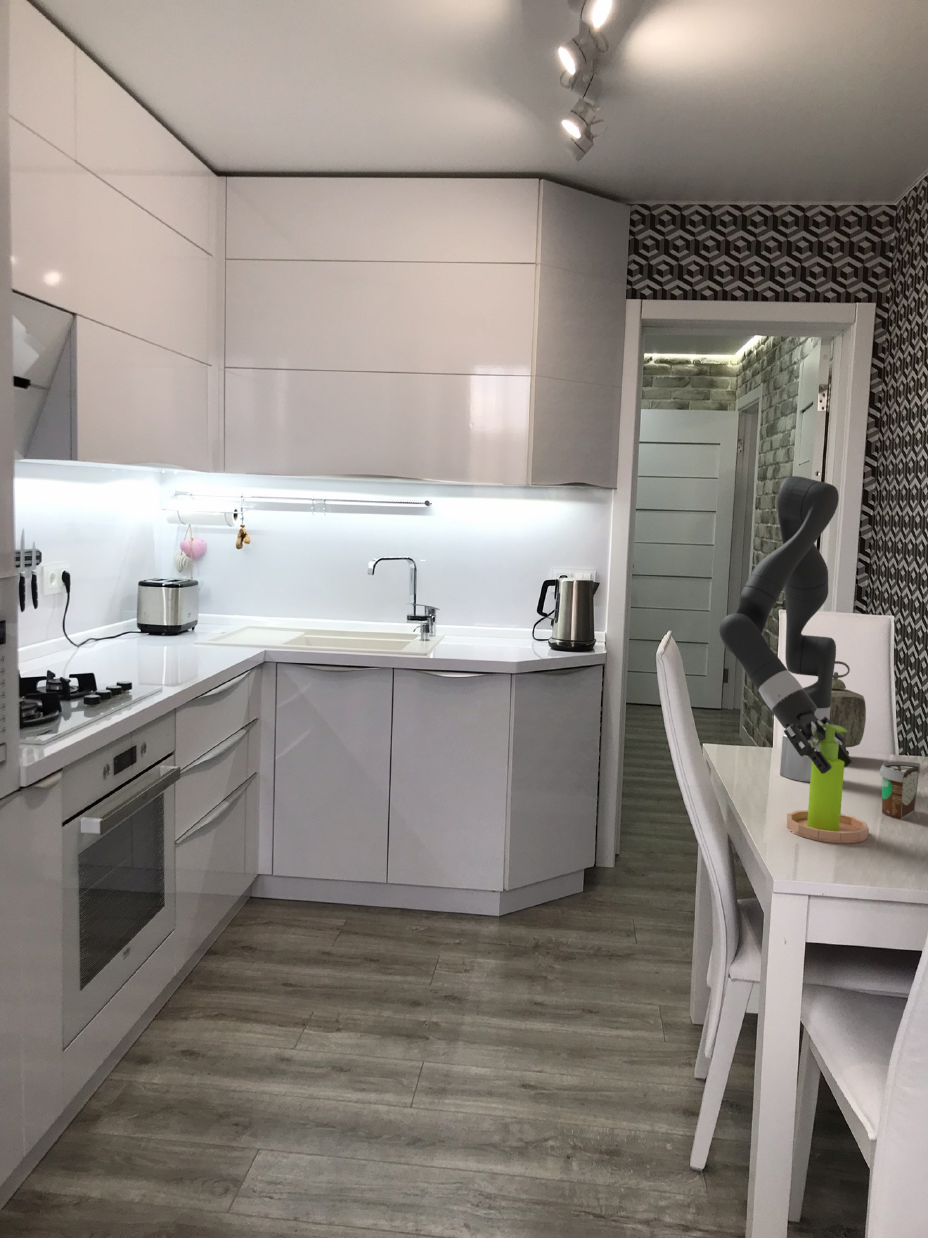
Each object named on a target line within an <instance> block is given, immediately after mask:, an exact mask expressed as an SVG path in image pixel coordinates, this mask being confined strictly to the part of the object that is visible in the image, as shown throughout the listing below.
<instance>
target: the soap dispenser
mask: <svg viewBox="0 0 928 1238" xmlns="http://www.w3.org/2000/svg"><path fill="white" fill-rule="evenodd" d="M822 727H824V728H826V733H825V739H824V740H822V741H820V751H821V753H822V754H823V755H824V757H825V758H826V760H827V761H828V762H829V764H830V765H831V769H830V770H829V771H828V772H826V773H824V774H822V773H821V772H820V771H819V769H818V768H817V767H816V765H815V764H814V763H813V761H812V765H811V779H810V782H809V796H808V806H807V807H808V808H807V810H808V819H807V826H808V827H812V828H816V829H819V830H828V831H838V830H839V827H840V814H842V813H841V811H842V798H843V786H844V784H843V783H844V773H845V768H844V761H842V760H840V759H838V748H839V743H838V742H836V741H835V740H834V739H835V731H836V732H837V733H847V730H846V729H844V728H843V727H841V726H838V725H833V724H822Z"/></svg>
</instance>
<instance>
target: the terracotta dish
mask: <svg viewBox="0 0 928 1238" xmlns="http://www.w3.org/2000/svg"><path fill="white" fill-rule="evenodd" d="M807 819H808V809H806V810H795V811H792V812H789V813H787V814H786V829H787V828H788V829H789V830H791V831H792V832H794V833H795V834H794V833H793V834H794V835H796V834H798V835H797V836H799V837H801V836H802V838H805V837H806V839H809V840H812V841H818V842H823V843H831V844H857V843H861V842H864V841H866V840H867V838H868V836H869V831H870V828H869V825H868V823H867V822H866V821H863V820H861V819H859V818H857V817H855V816H851V815H846V814H843V813H841V814H840V827H839V830H838V831H828V830H819V829H816V828H812V827H808V826H807ZM788 829H787V830H788ZM789 830H788V831H789ZM791 831H790V832H791ZM792 832H791V833H792Z"/></svg>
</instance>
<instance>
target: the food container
mask: <svg viewBox="0 0 928 1238" xmlns="http://www.w3.org/2000/svg"><path fill="white" fill-rule="evenodd" d="M920 773H921V763H920V762H914V761H902V760H901V761H899V760H895V761H894V760H893V761H885V762H883V763H882V765H881V766H880V769H879V772H878V774H879V776H881V813H882V814H883V815H885V816H886V817H889V818H892V819H895V820H900V821H901V820H903V819H905V818H907V817H908V816H909V815H910V814H912V813H914V812H915V811H916V802H917V793H918V784H919V777H920Z"/></svg>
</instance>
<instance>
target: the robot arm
mask: <svg viewBox="0 0 928 1238" xmlns="http://www.w3.org/2000/svg"><path fill="white" fill-rule="evenodd" d="M839 497H840V496H839V491H838V489H837V488H836V486H835V485H833V484H831V483H828V482H825V481H820V480H815V479H811V478H807V477H804V476H797V475H796V476H795V475H793V476H792V475H791V476H789V477H787V478H785V479H784V481H782V483H781V485H780V487H779V490H778V493H777V502H776V505H777V507H776V508H777V517H778V524H779V529H780V530H779V531H780V536H781V542H782V543H781V544H782V545H780V546H779V547H777V548H776V549H775V550H773V551H772V552H771V553H769V554H767V555H766V556H765V557H763V558H762V559H761V560H760V561H759V562H758V563H757V564H756V565H755V567H754V569H753V570H752V571H751V573H750V575H749V577H748V578H747V581H746V583H745V585H744V586H743V587H742V588H743V589H742V591H741V593H740V595H739V602H738V606H737V608H736V610H735V612H733V613H730V614H728V615H726V616H725V617H724V618H723V619H722V620H721V622H720V625H719V629H718V631H719V637H720V638H721V641H722V643H723V646H725V648H726V649H727V651H729V652H730V653H731V654H733V655H734V656H735V658H736V659H737V661H738V662H739V663H740V664H741V665H742V667H743V670H744V672H745V674H746V675H747V677H748V678H749V680H750V681H751V683H752V684H753V686H754V687H755V688H756V690H757V691H758V692H759V694H760V695H761V698H762V699H763V701H764V703H765V704H766V705H767V706H768V708H769V710H770V711H771V712H772V714H773V715H774V716H775V718H776V719H777V720H778V722H779V723H780V725H781V726H782V728H784V730H783V733H784V734H783V735H782V737H781V738H782V740H781V754H780V756H781V757H780V767H779V775H780V776H783V777H785V778H787V779H790V780H795V781H800V782H806V783H807V782H809V783H810V779H811V765H812V761H813V763H814V764H815V765H816V767H817V768H818V769H819V771H820V772H821V773H822V774H824V773H826V772H828V771H829V770H830V769H831V765H830V764H829V762H828V761H827V760H826V758H825V757H824V755H823V754H822V753H821V751H820V741H822V740H824V739H825V733H826V728H824V727H822V724H832V723H831V722H830V721H829V720H830V706H831V692H832V681H833V675H834V672H835V671H834V670H835V665H836V664H835V661H836V657H837V645H836V641H835V640H834V638H832V637H829V636H817V635H806V634H802V632H803V631H804V628H805V626H806V625H807V624H808V623H809V621H810V620H811V619H812V618H813V616H815V614H816V613H817V612H819V610H820V609H821V608H822V607H823V605H824V604H825V602H826V601H827V598H828V596H829V570H828V565H827V563H826V561H825V559H824V557H823V555H822V554H821V551H820V550H819V549H818V547H817V546H816V544H815V543H816V541H817V540H818V539H819V538H820V537H821V535H822V533H823V532H824V531H825V529H826V528H827V526H828V525H829V524H830V522H831V520H832V518H834V515H835V513H836V511H837V509H838V506H839V499H840V498H839ZM783 589H784V590H783ZM783 591H784V602H785V614H786V615H785V617H786V625H785V627H786V629H785V632H786V633H785V654H784V655H785V658H784V659H785V664H784V663H783V662H782V660H781V659H780V658H779V656H777V654H776V653H775V652H774V651H773V650H772V648H771V647H770V645H769V644H768V642H767V641H766V639H765V637H764V636H763V631H764V630H765V626H766V624H767V621H768V619H769V616H770V613H771V611H772V610H773V608H774V607H775V605H776V603H777V601H778V599H779V597H780V595H781V594H782V592H783ZM794 675H801V676H802V675H803V676H808V677H809V676H811V677H817V681H815V682H814V683H813V684H810V685H808V686H805V687H803V686H802V685H801V683H800V682H799V681H798V679H797V678H796V677H795V676H794ZM835 736H836V737H837V738H836V737H835V739H834V740H835V741H836V742H838V743H839V748H838V759H840V760H842V761H844V769H845V768H847V767H848V766H850V765H851V764H852V763H853V760H852V758H851V757H850V754H849V755H848V754H847V753H846V751H845V750H844V749H843V747H842V746H841V745H842V742H844V738H843V737H842V736H841V734H840V733H837V732H836V731H835Z"/></svg>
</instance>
